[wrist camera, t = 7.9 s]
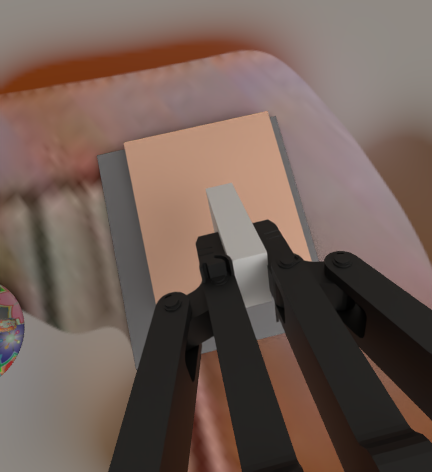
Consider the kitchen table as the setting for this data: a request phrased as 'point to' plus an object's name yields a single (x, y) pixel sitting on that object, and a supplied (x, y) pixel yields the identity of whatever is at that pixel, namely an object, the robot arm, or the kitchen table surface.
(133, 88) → the kitchen table surface
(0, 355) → the mug
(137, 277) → the mat
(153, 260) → the tile
